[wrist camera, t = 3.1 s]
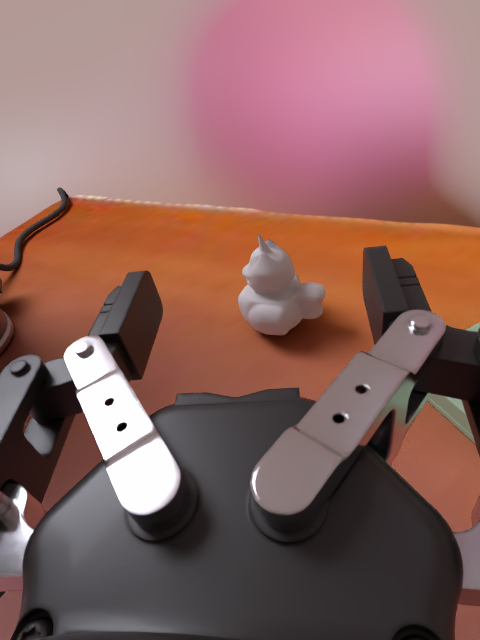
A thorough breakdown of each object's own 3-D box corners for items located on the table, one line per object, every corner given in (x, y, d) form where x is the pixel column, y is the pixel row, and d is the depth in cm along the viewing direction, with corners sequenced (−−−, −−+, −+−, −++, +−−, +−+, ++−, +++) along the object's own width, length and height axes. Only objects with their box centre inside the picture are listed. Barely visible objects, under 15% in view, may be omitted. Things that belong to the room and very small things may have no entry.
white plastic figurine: (253, 299, 35) (237, 213, 30) (332, 304, 33) (329, 213, 28) (233, 344, 31) (211, 256, 26) (320, 353, 29) (315, 259, 24)
